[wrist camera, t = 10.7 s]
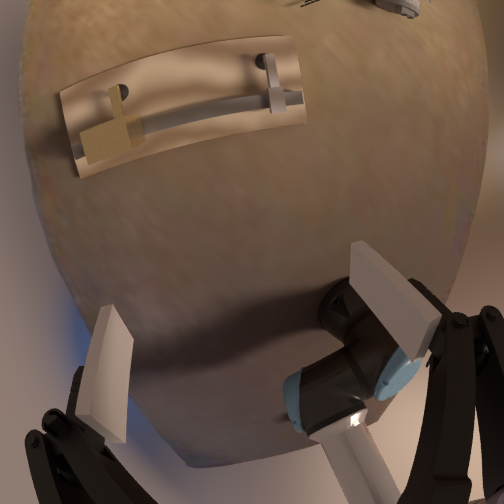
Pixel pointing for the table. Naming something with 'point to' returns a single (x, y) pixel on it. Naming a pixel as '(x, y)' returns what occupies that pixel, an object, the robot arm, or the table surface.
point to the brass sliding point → (113, 132)
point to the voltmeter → (396, 6)
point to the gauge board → (191, 96)
